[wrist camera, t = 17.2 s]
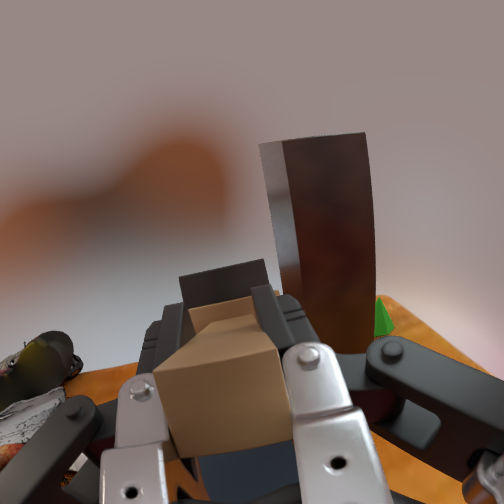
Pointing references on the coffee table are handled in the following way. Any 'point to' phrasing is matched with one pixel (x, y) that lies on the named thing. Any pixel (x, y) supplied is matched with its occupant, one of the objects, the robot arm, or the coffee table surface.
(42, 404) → the stone
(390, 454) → the coffee table surface
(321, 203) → the tall dark wooden block
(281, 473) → the mat
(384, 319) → the gemstone
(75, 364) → the toy car
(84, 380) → the coffee table surface
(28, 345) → the athletic shoe
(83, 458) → the white egg
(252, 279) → the brush
